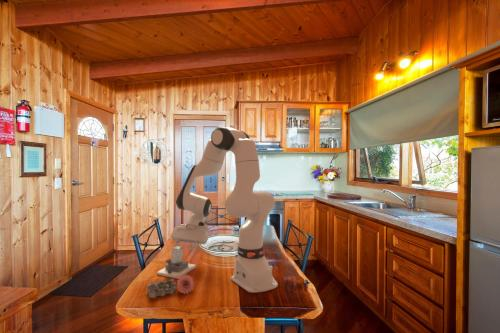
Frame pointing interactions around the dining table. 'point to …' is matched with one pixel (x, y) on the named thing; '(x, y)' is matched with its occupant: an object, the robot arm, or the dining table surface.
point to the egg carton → (161, 288)
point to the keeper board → (175, 269)
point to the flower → (185, 284)
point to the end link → (177, 256)
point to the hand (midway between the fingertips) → (183, 249)
